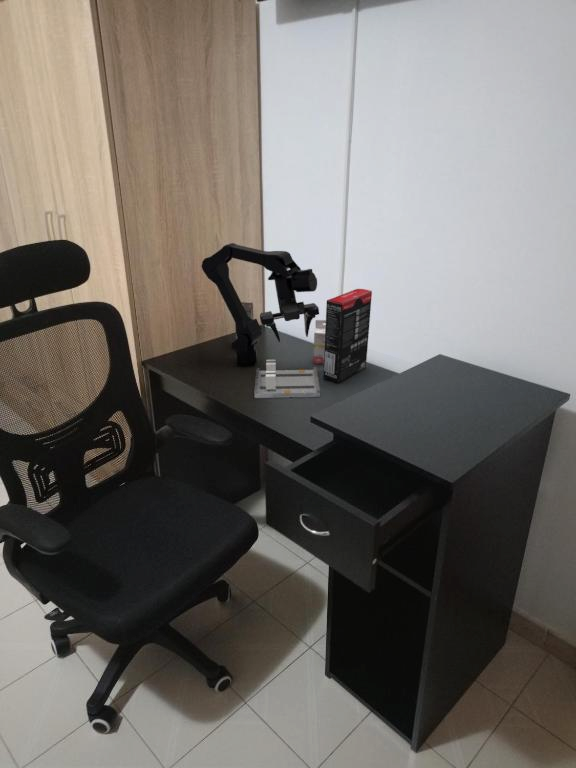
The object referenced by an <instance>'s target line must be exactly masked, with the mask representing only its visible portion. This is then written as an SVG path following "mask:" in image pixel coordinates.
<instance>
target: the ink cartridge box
mask: <svg viewBox="0 0 576 768" xmlns="http://www.w3.org/2000/svg"><path fill="white" fill-rule="evenodd" d="M325 328H326V319H316V320H315V328H314V335H313V365H315V364H317V365H324V351H325Z"/></svg>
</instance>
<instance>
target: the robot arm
mask: <svg viewBox="0 0 576 768" xmlns="http://www.w3.org/2000/svg"><path fill="white" fill-rule="evenodd" d="M233 259H236V260H240V261H243V262H248V263H252V264H256V265H259V266H262V267H263V268H265V269H266V270H267V271H270V272H271V274H270V275H269V276H268V278H267V280H268V281H274V286H275V291H276V297H277V302H278V308H279V312H276V313H273V312H272V311H271V310H270V311H264V312H261V313H259V320H260V323H261V325H262V326H266V327H267V328H270V329H271V330H272V332H273V333H274V335H275V337H276V339H277V341H278V343H281V339H280V334H279V331H278V328H277V325H276V322H275V320H279V319H284V321H285V322H290V321H293V320H299V319H300V316H301V315H303V321H304V332H305V337H306V338H308V337H309V332H310V325H311V323H312V320H313V319H315V318H316V316H319V315H320V310H319V306H318V305H317V304H316V303H315V302H311V303H307V304H305V303H304V301H299V302H297V299H296V293H304V292H305V293H306V292H307V293H308V292H309V293H310V292H312V293H313V292H316V290H317V288H318V277H316V274H315V273H314V272H313V269H312V268H307V269H302V268H301V267H300V266H299V265H298V264H297V263H296V262H295V260H294V259H293V256H292V255H291V253H290V252H289V251H286V250H285V251H284V250H271V251H268V250H267V251H266V250H263V249H257V248H253V247H249V246H245V245H239V244H236V243H234V242H231V243H228V244H225V245H223V246H222V247H221V248H220V249H219V250H217V251H216V252H215V253H214V254H212V255H211V256H208V257H206V258H203V260H202V262H201V269H202V272H203V273H204V274H205V275H206V278H207V279H209V281H211V282H213V284H214V285H215V286H216V287H217V289H218V291H219V294H220V295H221V297H222V299H223V301H224V302H225V305H226V307H227V309H228V311H229V313H230V315H231V317H232V319H233V321H234V325H235V324H236V329H235V336H236V335H237V339H236V338H235V340H234V341H233V342H232V343H231V347H232V349H233V350H234V351H235V352H236V354H235V355H236V367H255V366H256V363H257V362H258V357H257V356H258V355H257V354H258V351H257V348H255V347H256V346H255V345H257V344H258V342H259V340H260V339H261V338H262V335H263V332H262V330H263V329H262V327H261V326H260V325H259V324H260V323H259V321H258V319H257V318H254V320H252V319H251V318H250V317H249V316H248V315H247V313H246V311H245V309H244V307H243V305H242V303H241V302H242V301H241V299H240V297H239V294H238V292H237V291H236V289H235V287H234V285H233V282H232V281H231V279H230V269H229V265H228V263H229V262H231V261H232V260H233Z"/></svg>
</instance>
